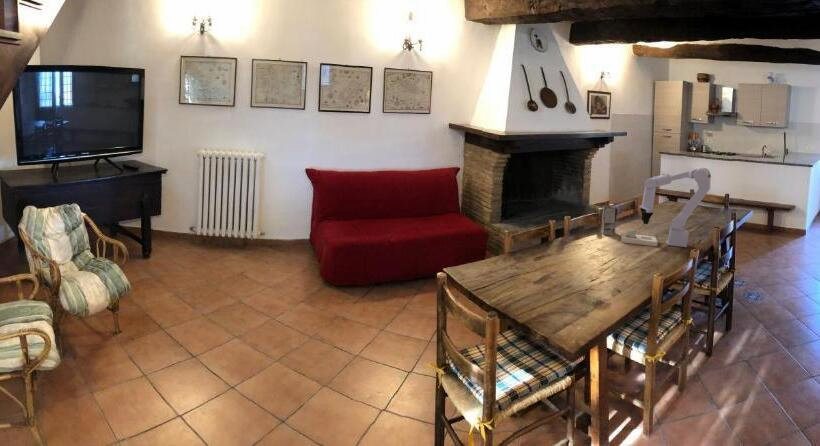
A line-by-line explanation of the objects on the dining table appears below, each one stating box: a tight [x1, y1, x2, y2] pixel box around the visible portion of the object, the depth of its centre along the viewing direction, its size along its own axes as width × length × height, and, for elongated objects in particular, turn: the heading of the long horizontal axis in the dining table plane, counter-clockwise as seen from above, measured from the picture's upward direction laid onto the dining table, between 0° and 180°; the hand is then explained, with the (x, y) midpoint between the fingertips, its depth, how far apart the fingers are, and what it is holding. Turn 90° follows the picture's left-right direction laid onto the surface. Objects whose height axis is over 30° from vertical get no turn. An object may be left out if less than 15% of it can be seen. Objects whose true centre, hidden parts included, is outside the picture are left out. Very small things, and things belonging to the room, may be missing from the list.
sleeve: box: [627, 229, 637, 238], centre depth 284 cm, size 4×4×6 cm
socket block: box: [620, 232, 658, 247], centre depth 284 cm, size 18×11×2 cm, turn 72°
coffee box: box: [600, 204, 619, 237], centre depth 297 cm, size 9×6×16 cm
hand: (644, 222), depth 289 cm, fingers open, 7 cm apart
